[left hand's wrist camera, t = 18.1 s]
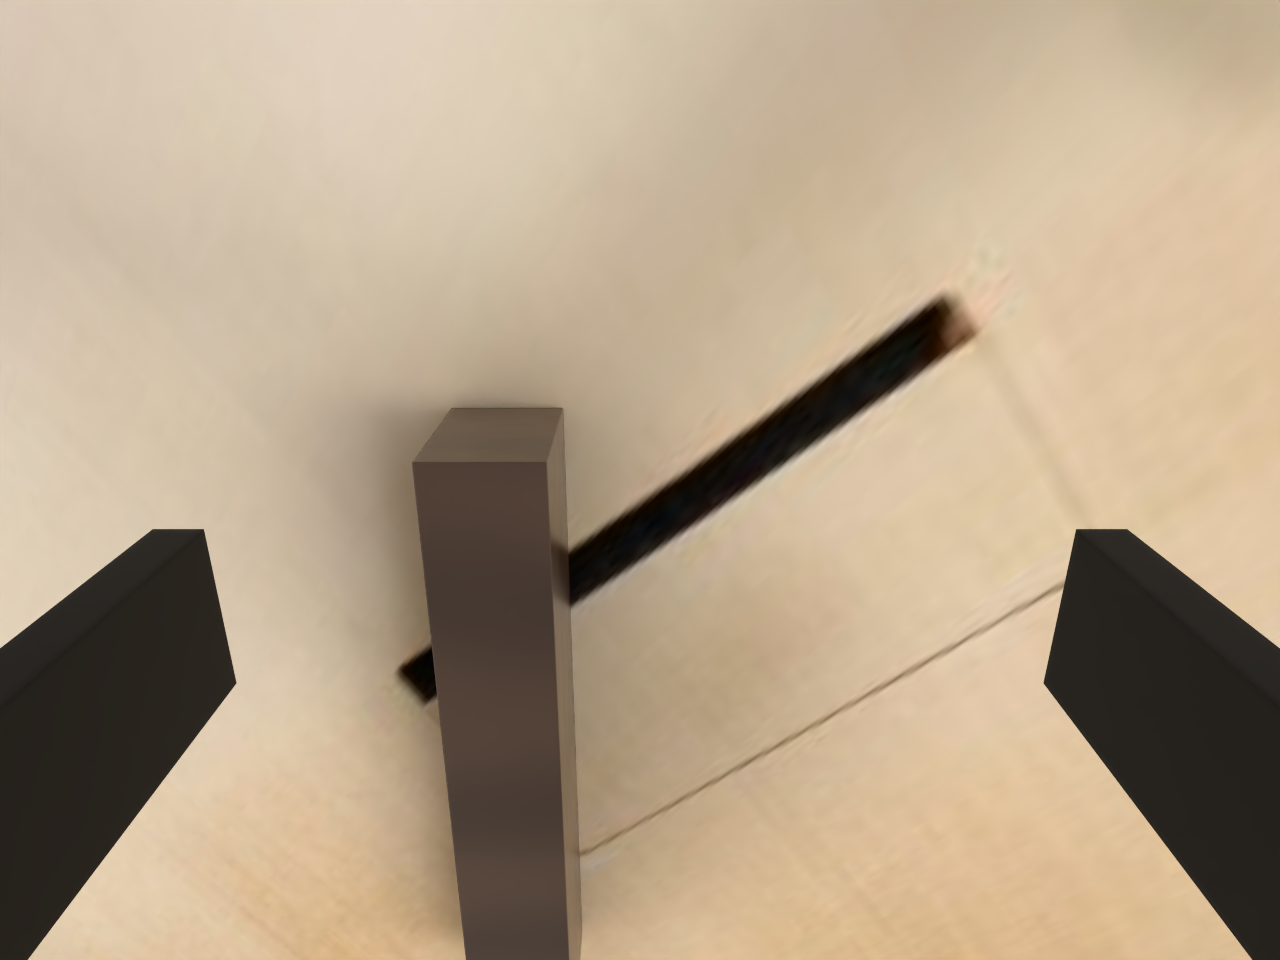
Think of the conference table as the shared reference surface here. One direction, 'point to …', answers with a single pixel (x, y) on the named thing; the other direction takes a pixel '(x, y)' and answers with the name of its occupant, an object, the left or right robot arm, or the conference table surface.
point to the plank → (504, 674)
